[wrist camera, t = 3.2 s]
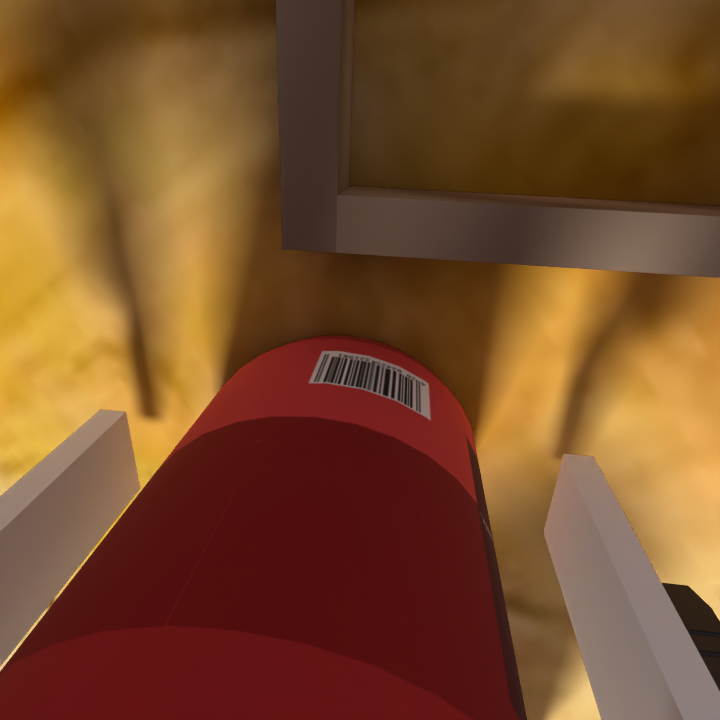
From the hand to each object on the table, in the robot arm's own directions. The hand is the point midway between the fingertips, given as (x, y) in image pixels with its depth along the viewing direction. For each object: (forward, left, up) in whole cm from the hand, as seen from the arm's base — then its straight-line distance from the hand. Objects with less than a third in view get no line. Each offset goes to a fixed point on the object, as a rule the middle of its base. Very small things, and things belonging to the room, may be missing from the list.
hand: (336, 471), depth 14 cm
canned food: (0, 0, -2) cm, 2 cm away
